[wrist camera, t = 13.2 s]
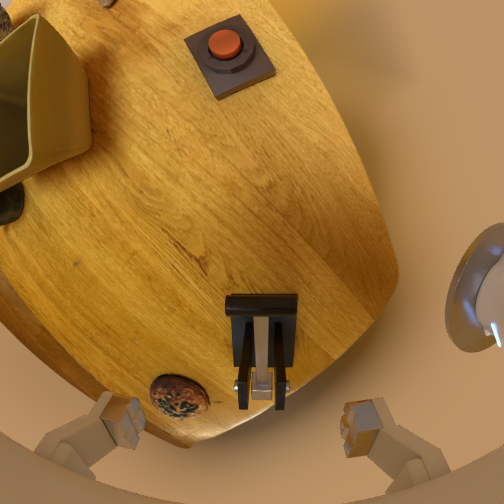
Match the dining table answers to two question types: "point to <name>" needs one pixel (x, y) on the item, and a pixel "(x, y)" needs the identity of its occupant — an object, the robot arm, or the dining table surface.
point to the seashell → (105, 3)
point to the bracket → (278, 354)
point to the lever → (261, 331)
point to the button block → (231, 70)
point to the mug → (11, 204)
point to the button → (225, 44)
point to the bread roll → (178, 397)
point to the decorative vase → (5, 24)
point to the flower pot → (40, 102)
